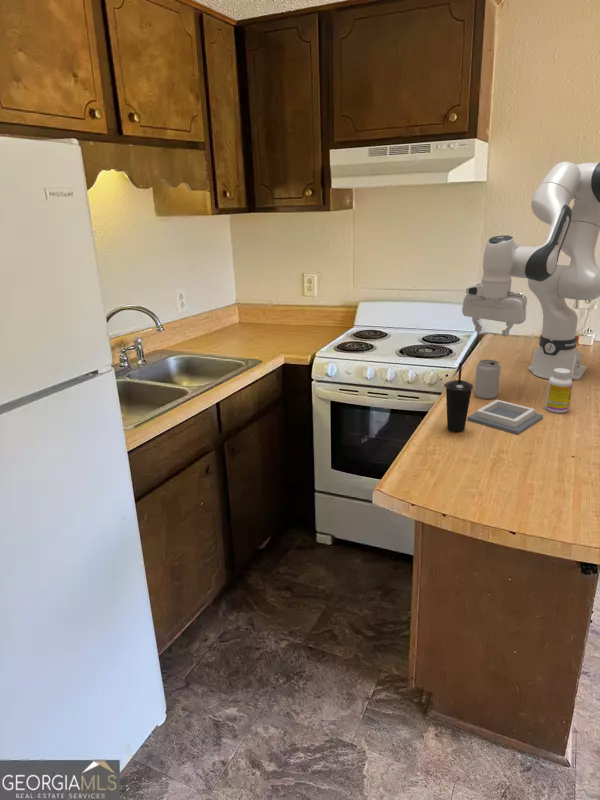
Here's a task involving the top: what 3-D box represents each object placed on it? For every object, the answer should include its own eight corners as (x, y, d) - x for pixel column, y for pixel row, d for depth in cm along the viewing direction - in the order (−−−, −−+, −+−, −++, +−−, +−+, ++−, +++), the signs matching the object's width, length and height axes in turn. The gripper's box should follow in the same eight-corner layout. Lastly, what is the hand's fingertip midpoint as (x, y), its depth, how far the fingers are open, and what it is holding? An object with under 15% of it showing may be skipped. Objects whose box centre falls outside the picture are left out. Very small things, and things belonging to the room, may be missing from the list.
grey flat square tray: (493, 405, 182) (494, 396, 181) (542, 418, 172) (544, 409, 170) (467, 420, 172) (467, 410, 171) (517, 434, 161) (519, 425, 160)
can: (498, 400, 186) (502, 365, 182) (475, 399, 188) (477, 364, 183) (496, 392, 193) (499, 358, 189) (473, 391, 194) (476, 358, 190)
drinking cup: (470, 425, 168) (475, 360, 161) (468, 435, 162) (474, 368, 155) (443, 422, 171) (447, 358, 164) (441, 432, 164) (445, 366, 157)
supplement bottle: (570, 414, 174) (576, 374, 169) (547, 413, 175) (552, 373, 171) (565, 406, 180) (571, 367, 175) (543, 405, 181) (548, 366, 177)
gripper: (532, 292, 173) (527, 336, 177) (471, 285, 186) (468, 327, 191) (522, 295, 169) (517, 340, 173) (461, 288, 182) (458, 330, 187)
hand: (491, 333), depth 182 cm, fingers open, 8 cm apart
